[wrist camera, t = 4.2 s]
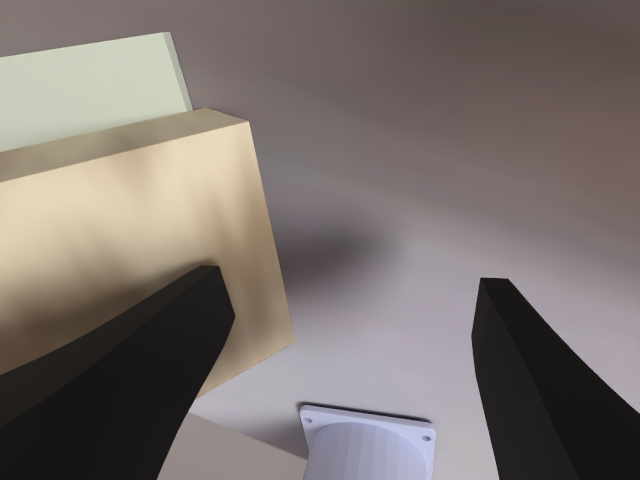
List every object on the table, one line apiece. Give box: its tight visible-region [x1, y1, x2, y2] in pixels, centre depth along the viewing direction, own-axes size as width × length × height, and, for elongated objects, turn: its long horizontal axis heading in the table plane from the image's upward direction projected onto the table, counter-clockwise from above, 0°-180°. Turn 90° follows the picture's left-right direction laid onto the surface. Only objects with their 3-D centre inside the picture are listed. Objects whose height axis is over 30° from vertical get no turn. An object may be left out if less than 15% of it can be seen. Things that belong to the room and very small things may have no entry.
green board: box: [0, 32, 193, 152], centre depth 16 cm, size 14×10×1 cm
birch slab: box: [0, 108, 296, 399], centre depth 12 cm, size 9×4×8 cm
